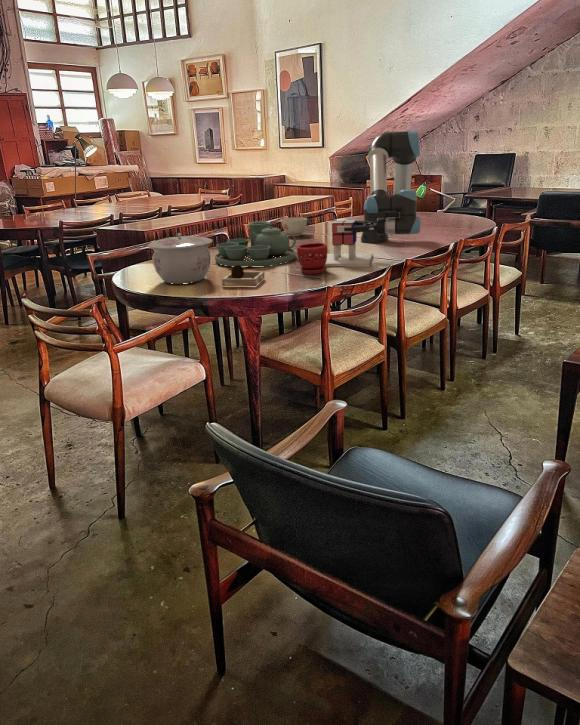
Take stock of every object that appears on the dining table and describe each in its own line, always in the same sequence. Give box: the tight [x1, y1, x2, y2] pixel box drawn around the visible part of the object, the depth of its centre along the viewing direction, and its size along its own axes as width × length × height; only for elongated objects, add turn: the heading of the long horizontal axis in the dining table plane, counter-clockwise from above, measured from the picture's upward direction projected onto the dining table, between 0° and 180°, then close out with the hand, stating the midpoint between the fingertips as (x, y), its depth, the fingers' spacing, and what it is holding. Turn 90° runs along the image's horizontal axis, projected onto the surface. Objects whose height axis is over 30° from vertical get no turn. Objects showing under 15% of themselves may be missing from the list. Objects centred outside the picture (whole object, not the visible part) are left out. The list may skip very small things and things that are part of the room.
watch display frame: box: [221, 271, 266, 287], centre depth 241 cm, size 14×14×4 cm
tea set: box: [214, 220, 297, 267], centre depth 285 cm, size 40×40×16 cm
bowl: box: [280, 216, 308, 237], centre depth 350 cm, size 16×16×10 cm
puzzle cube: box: [331, 219, 358, 246], centre depth 269 cm, size 10×10×10 cm
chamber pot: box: [146, 232, 213, 285], centre depth 248 cm, size 28×28×21 cm
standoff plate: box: [325, 241, 374, 268], centre depth 273 cm, size 24×24×8 cm
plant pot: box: [296, 242, 328, 275], centre depth 254 cm, size 13×13×12 cm
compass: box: [230, 265, 245, 279], centre depth 242 cm, size 8×8×7 cm
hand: (339, 226), depth 269 cm, fingers open, 13 cm apart
